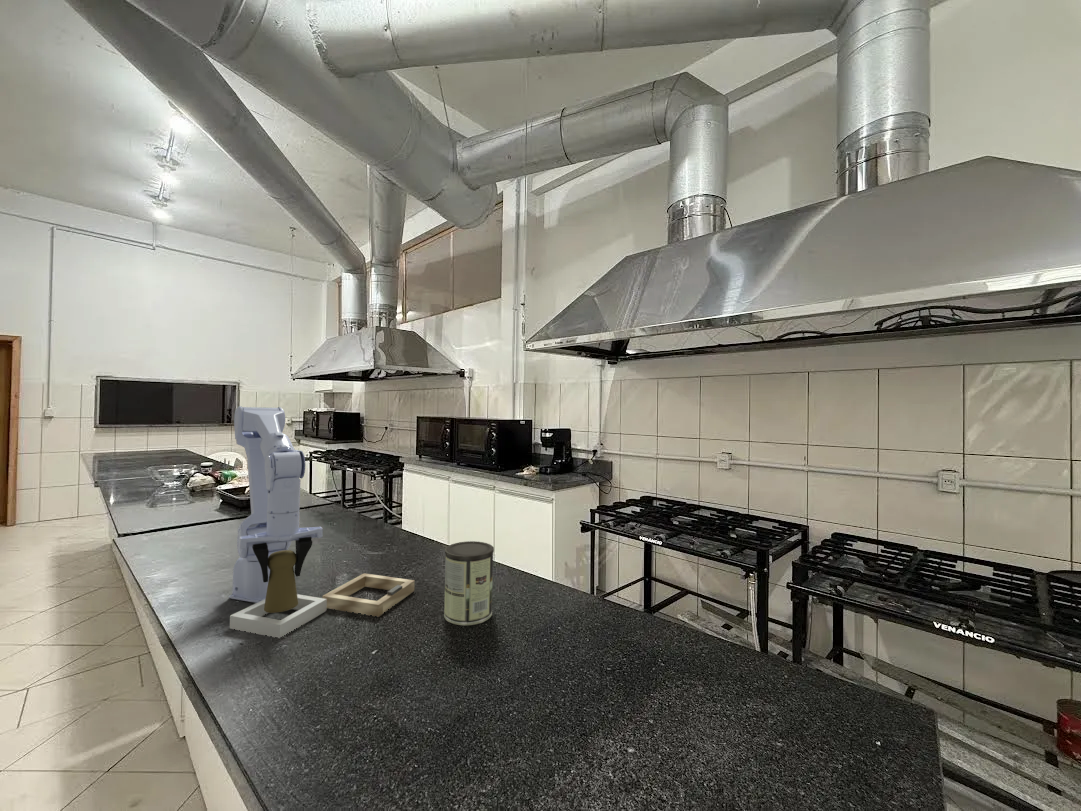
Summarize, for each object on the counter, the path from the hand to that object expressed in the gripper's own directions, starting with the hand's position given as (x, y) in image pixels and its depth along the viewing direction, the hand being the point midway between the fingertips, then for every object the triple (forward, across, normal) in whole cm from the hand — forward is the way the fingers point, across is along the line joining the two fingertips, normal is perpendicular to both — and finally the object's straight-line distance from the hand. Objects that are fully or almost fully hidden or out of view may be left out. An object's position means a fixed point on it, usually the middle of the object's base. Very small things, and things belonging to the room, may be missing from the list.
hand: (281, 577), depth 91 cm
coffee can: (+9, +33, -19) cm, 39 cm away
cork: (+6, 0, 0) cm, 6 cm away
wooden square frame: (+8, +18, 0) cm, 20 cm away
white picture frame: (+8, 0, 0) cm, 8 cm away
